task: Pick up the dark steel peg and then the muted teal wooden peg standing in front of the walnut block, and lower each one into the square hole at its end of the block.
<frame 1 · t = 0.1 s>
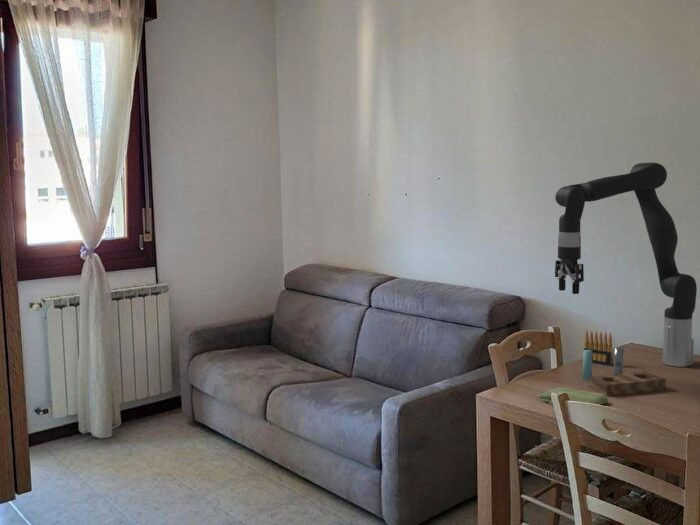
hand: (568, 292, 248), 29 cm above the table, fingers open, 8 cm apart
teal peg: (587, 379, 245), on the table
ammunition clip: (597, 363, 266), on the table
hole block: (626, 388, 234), on the table
steel peg: (618, 376, 248), on the table
washcloth: (572, 403, 221), on the table
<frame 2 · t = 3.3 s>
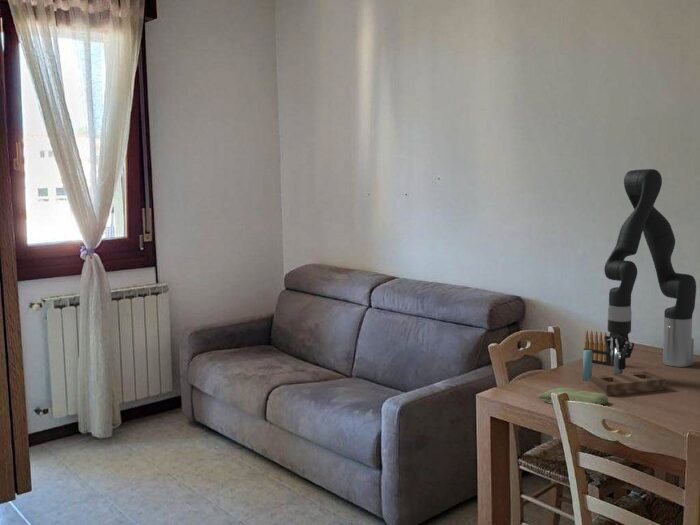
hand: (618, 367, 247), 3 cm above the table, fingers closed on steel peg, 3 cm apart
steel peg: (618, 376, 248), on the table, touching gripper
everything else where it was.
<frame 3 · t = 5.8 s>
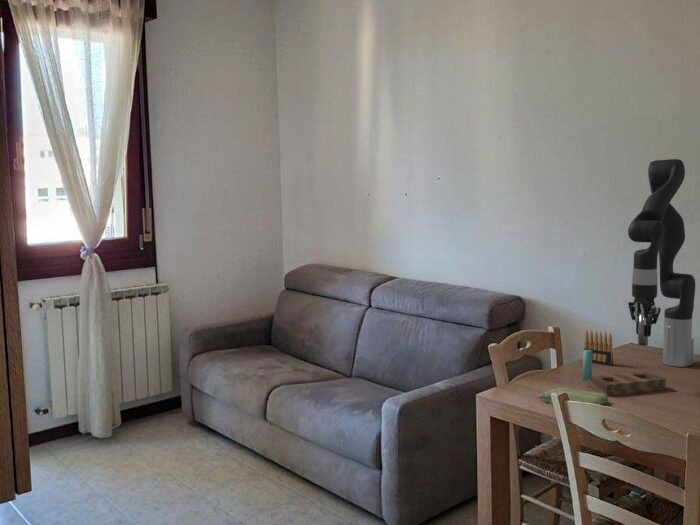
hand: (643, 335, 234), 17 cm above the table, fingers closed on steel peg, 3 cm apart
steel peg: (642, 344, 234), point 14 cm above the table, touching gripper
everything else where it was.
when the fingers open (5 cm above the table, at t = 8.4 s): steel peg drops 1 cm, resting in hole block.
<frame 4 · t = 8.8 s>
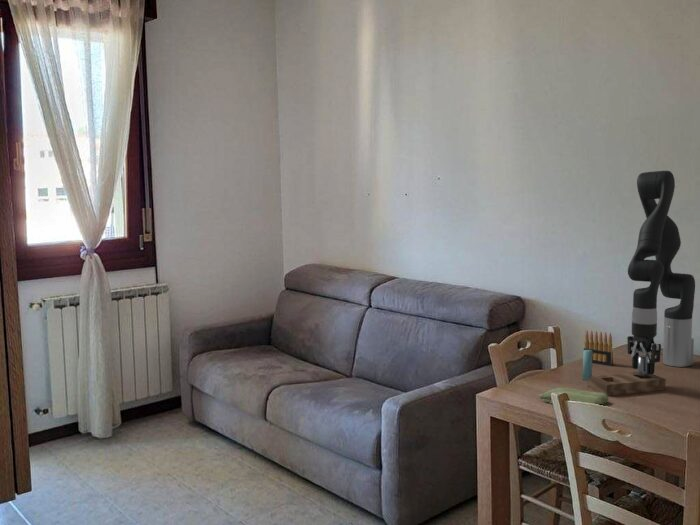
hand: (642, 371, 235), 5 cm above the table, fingers open, 6 cm apart
steel peg: (642, 386, 235), resting in hole block
everything else where it was.
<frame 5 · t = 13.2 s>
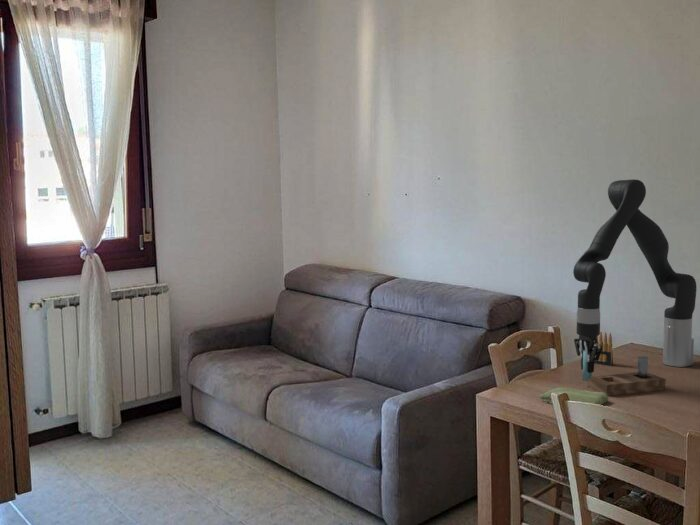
hand: (587, 370, 244), 3 cm above the table, fingers closed on teal peg, 3 cm apart
teal peg: (587, 379, 245), on the table, touching gripper
everything else where it was.
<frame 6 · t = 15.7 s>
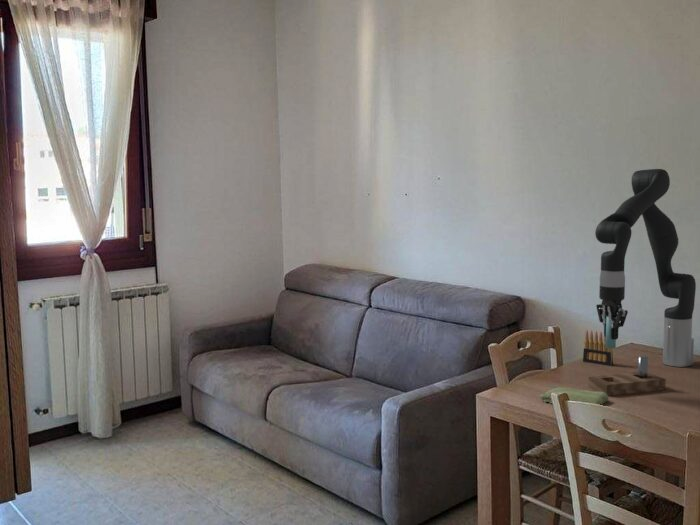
hand: (610, 337, 231), 17 cm above the table, fingers closed on teal peg, 3 cm apart
teal peg: (610, 347, 231), point 14 cm above the table, touching gripper
everything else where it was.
when the fingers open (5 cm above the table, at t = 18.3 s): teal peg drops 1 cm, resting in hole block.
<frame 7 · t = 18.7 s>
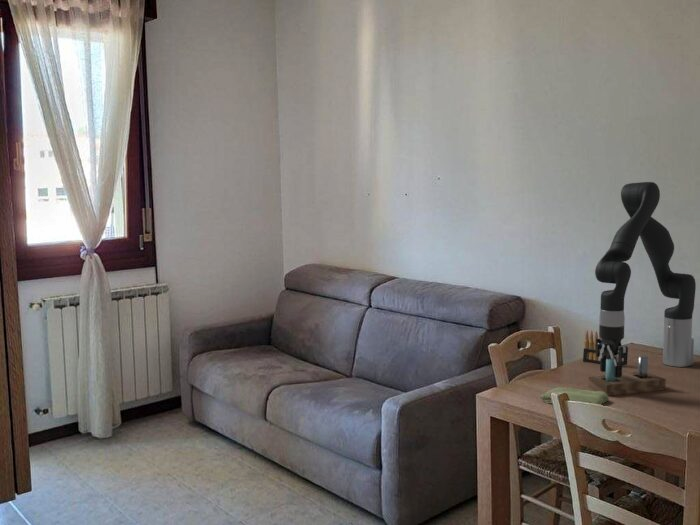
hand: (610, 374, 232), 5 cm above the table, fingers open, 7 cm apart
teal peg: (610, 390, 232), resting in hole block
everything else where it was.
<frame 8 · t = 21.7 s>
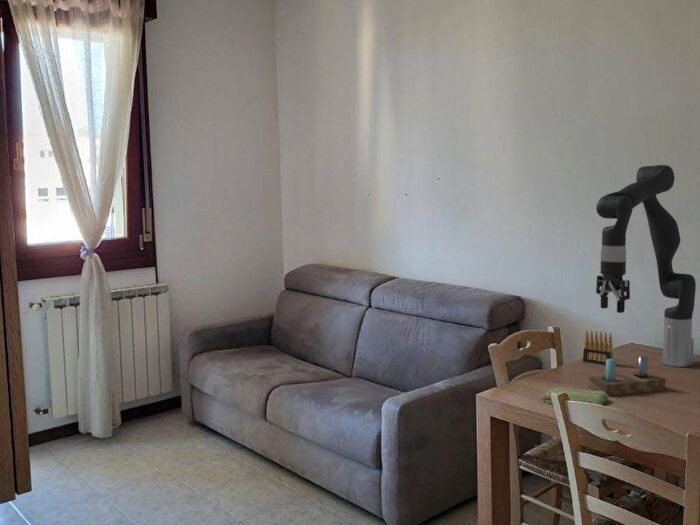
hand: (612, 310, 229), 26 cm above the table, fingers open, 8 cm apart
at the end: steel peg 0.1 cm from the target spot on the hole block, point 0.0 cm above the hole block's base; teal peg 0.1 cm from the target spot on the hole block, point 0.0 cm above the hole block's base; teal peg tilted 0° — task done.
